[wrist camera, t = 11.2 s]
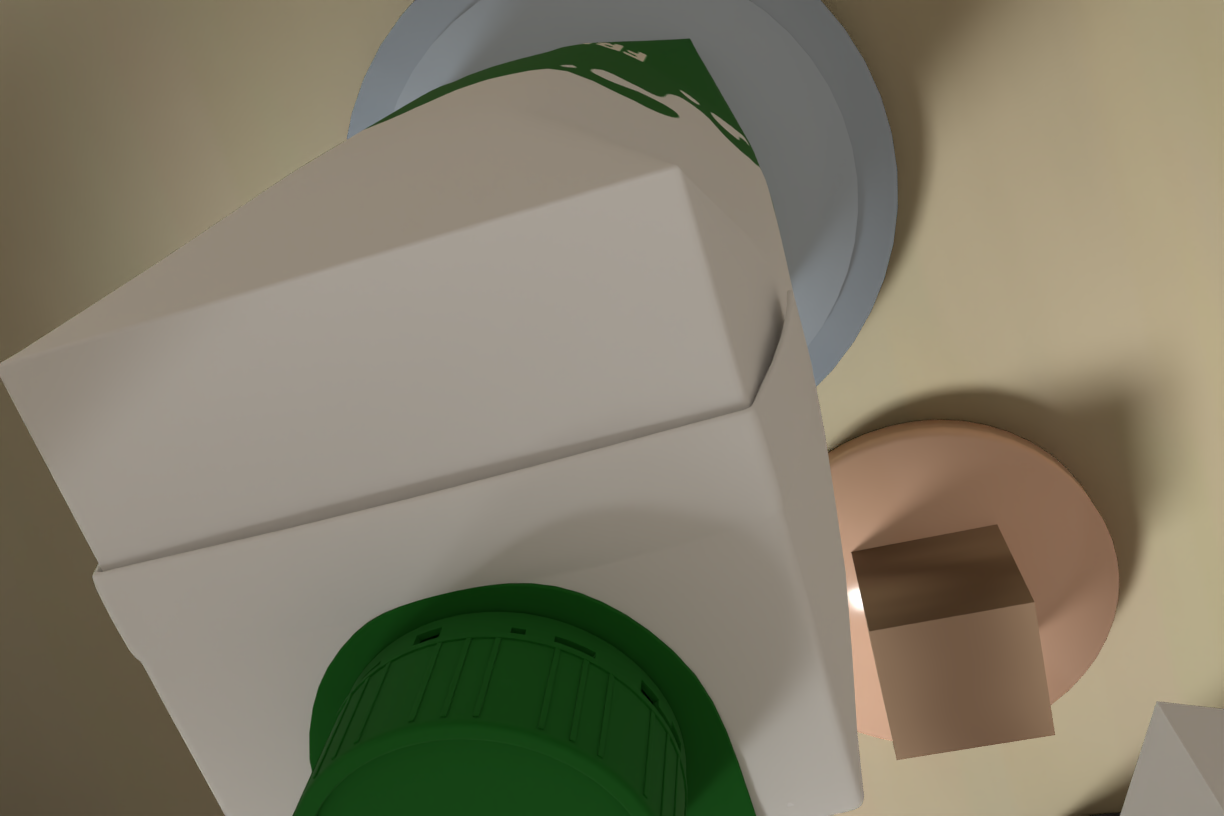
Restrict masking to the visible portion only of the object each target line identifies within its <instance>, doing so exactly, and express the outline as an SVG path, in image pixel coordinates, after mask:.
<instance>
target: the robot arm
mask: <svg viewBox="0 0 1224 816" xmlns="http://www.w3.org/2000/svg"><path fill="white" fill-rule="evenodd" d="M1120 816H1224V709H1220V708H1211V707H1202V706H1193V705H1184V704H1175V703H1167V702H1158V701H1157V702H1156V705H1155V708H1154V711H1153V714H1152V718H1151V721H1150V724H1149V727H1148V730H1147V733H1146V736H1145V739H1144V742H1143V746H1142V749H1141V752H1140V755H1139V758H1138V761H1137V764H1136V767H1135V770H1134V774H1133V777H1132V780H1131V783H1130V786H1129V789H1128V792H1127V795H1126V798H1125V802H1124V805H1123V808H1122V811H1121V814H1120Z"/></svg>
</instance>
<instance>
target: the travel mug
mask: <svg viewBox="0 0 1224 816" xmlns="http://www.w3.org/2000/svg"><path fill="white" fill-rule="evenodd" d="M1120 814H1121V813H1109V814H1099V815H1092V816H1120Z"/></svg>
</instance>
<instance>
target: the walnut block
mask: <svg viewBox="0 0 1224 816" xmlns="http://www.w3.org/2000/svg"><path fill="white" fill-rule="evenodd" d="M851 553H852V558H853V563H854V567H855V572H856V577H857V581H858V586H859V590H860V595H861V600H862V604H863V609H864V614H865V618H866V623H867V628H868V632H869V637H870V642H871V646H872V651H873V655H874V660H875V665H876V669H877V674H878V678H879V683H880V687H881V692H882V696H883V700H884V705H885V709H886V714H887V718H888V723H889V727H890V732H891V736H892V740H893V745H894V749H895V754H896V758H897V760H900V759H906V758H912V757H919V756H925V755H931V754H938V753H944V752H950V751H956V750H963V749H969V748H975V747H982V746H988V745H994V744H1001V743H1007V742H1013V741H1019V740H1026V739H1032V738H1038V737H1045V736H1051V735H1055V731H1054V725H1053V718H1052V712H1051V705H1050V699H1049V692H1048V686H1047V679H1046V673H1045V666H1044V660H1043V653H1042V647H1041V640H1040V634H1039V627H1038V621H1037V615H1036V608H1035V602H1034V600H1033V598H1032V596H1031V594H1030V592H1029V589H1028V587H1027V585H1026V583H1025V581H1024V579H1023V577H1022V575H1021V573H1020V571H1019V569H1018V567H1017V565H1016V562H1015V560H1014V558H1013V556H1012V554H1011V552H1010V550H1009V548H1008V546H1007V544H1006V542H1005V540H1004V537H1003V535H1002V533H1001V531H1000V529H999V527H998V525H997V524H996V525H991V526H985V527H980V528H975V529H969V530H964V531H959V532H954V533H948V534H943V535H938V536H932V537H927V538H922V539H917V540H911V541H906V542H901V543H895V544H890V545H885V546H880V547H874V548H869V549H864V550H858V551H853V552H851Z"/></svg>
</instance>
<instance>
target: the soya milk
mask: <svg viewBox="0 0 1224 816" xmlns="http://www.w3.org/2000/svg"><path fill="white" fill-rule="evenodd" d="M0 378H1V380H2V382H3V383H4V385H5V387H6V389H7V391H8V393H9V395H10V397H11V399H12V401H13V403H14V405H15V407H16V409H17V410H18V412H19V414H20V416H21V418H22V420H23V422H24V424H25V426H26V427H27V429H28V431H29V433H30V435H31V437H32V439H33V441H34V443H35V444H36V446H37V448H38V450H39V452H40V454H41V456H42V458H43V460H44V461H45V463H46V465H47V467H48V469H49V471H50V473H51V475H52V477H53V478H54V480H55V482H56V484H57V486H58V488H59V490H60V492H61V494H62V495H63V497H64V499H65V501H66V503H67V505H68V507H69V509H70V511H71V512H72V514H73V516H74V518H75V520H76V522H77V524H78V526H79V527H80V529H81V531H82V533H83V535H84V537H85V539H86V541H87V543H88V544H89V546H90V548H91V550H92V552H93V554H94V556H95V558H96V559H97V561H98V565H97V567H96V569H95V571H94V573H93V575H92V578H93V581H94V584H95V587H96V590H97V592H98V594H99V596H100V598H101V600H102V602H103V604H104V606H105V608H106V610H107V611H108V613H109V615H110V617H111V619H112V621H113V623H114V625H115V626H116V628H117V630H118V632H119V633H120V635H121V637H122V639H123V640H124V642H125V644H126V646H127V648H128V649H129V650H130V652H131V653H132V654H133V655H134V657H135V658H136V659H138V660H140V661H141V663H142V664H143V666H144V668H145V670H146V672H147V674H148V675H149V677H150V679H151V681H152V683H153V685H154V687H155V688H156V690H157V692H158V694H159V696H160V698H161V700H162V701H163V703H164V705H165V707H166V709H167V711H168V712H169V714H170V716H171V718H172V720H173V721H174V723H175V725H176V727H177V729H178V731H179V732H180V734H181V736H182V738H183V740H184V742H185V743H186V745H187V747H188V749H189V751H190V753H191V754H192V756H193V758H194V760H195V762H196V763H197V765H198V767H199V769H200V771H201V773H202V774H203V776H204V778H205V780H206V782H207V784H208V785H209V787H210V789H211V791H212V793H213V795H214V796H215V798H216V800H217V802H218V804H219V805H220V807H221V809H222V811H223V813H224V815H225V816H829V815H834V814H839V813H843V812H847V811H851V810H855V809H857V808H859V807H860V806H861V805H862V803H863V799H864V792H863V783H862V773H861V764H860V754H859V745H858V736H857V720H856V705H855V689H854V674H853V658H852V645H851V632H850V620H849V607H848V595H847V583H846V571H845V564H844V557H843V550H842V544H841V537H840V530H839V523H838V516H837V510H836V503H835V496H834V489H833V483H832V476H831V470H830V463H829V457H828V450H827V444H826V437H825V431H824V426H823V421H822V416H821V410H820V405H819V400H818V395H817V389H816V384H815V379H814V375H813V369H812V364H811V360H810V356H809V352H808V348H807V344H806V340H805V336H804V332H803V328H802V324H801V320H800V317H799V313H798V309H797V305H796V301H795V298H794V293H793V289H792V284H791V280H790V275H789V271H788V266H787V262H786V258H785V253H784V249H783V244H782V240H781V236H780V231H779V227H778V223H777V218H776V214H775V210H774V206H773V202H772V199H771V196H770V192H769V189H768V186H767V183H766V180H765V177H764V175H763V173H762V170H761V168H760V166H759V163H758V161H757V158H756V156H755V153H754V151H753V149H752V147H751V145H750V143H749V141H748V139H747V138H746V136H745V134H744V132H743V131H742V129H741V127H740V125H739V123H738V122H737V120H736V118H735V116H734V115H733V113H732V111H731V109H730V108H729V106H728V104H727V102H726V101H725V99H724V97H723V96H722V94H721V92H720V90H719V89H718V87H717V85H716V83H715V82H714V80H713V78H712V76H711V75H710V73H709V71H708V70H707V68H706V66H705V64H704V63H703V61H702V59H701V58H700V56H699V54H698V52H697V51H696V49H695V47H694V45H693V43H692V41H691V39H689V38H687V39H672V40H648V41H622V42H598V43H583V44H578V45H572V46H566V47H561V48H558V49H555V50H552V51H549V52H545V53H541V54H537V55H533V56H529V57H525V58H521V59H517V60H514V61H510V62H507V63H503V64H500V65H496V66H493V67H490V68H487V69H484V70H482V71H479V72H476V73H473V74H470V75H468V76H466V77H463V78H461V79H459V80H456V81H454V82H452V83H449V84H446V85H443V86H440V87H438V88H436V89H434V90H432V91H429V92H428V93H426V94H424V95H422V96H421V97H419V98H417V99H415V100H414V101H412V102H410V103H408V104H407V105H405V106H403V107H402V108H400V109H398V110H396V111H395V112H393V113H391V114H390V115H388V116H386V117H385V118H383V119H381V120H379V121H378V122H376V123H374V124H373V125H371V126H369V127H368V128H366V129H364V130H362V131H361V132H359V133H357V134H356V135H354V136H352V137H351V138H349V139H347V140H346V141H344V142H342V143H340V144H339V145H337V146H335V147H334V148H332V149H330V150H329V151H327V152H325V153H324V154H322V155H320V156H318V157H317V158H315V159H313V160H312V161H310V162H308V163H307V164H305V165H304V166H302V167H300V168H299V169H297V170H295V171H294V172H292V173H290V174H289V175H287V176H286V177H284V178H283V179H281V180H280V181H278V182H277V183H275V184H274V185H272V186H271V187H269V188H268V189H266V190H265V191H263V192H262V193H260V194H259V195H257V196H256V197H255V198H253V199H252V200H250V201H249V202H247V203H246V204H244V205H243V206H241V207H240V208H238V209H237V210H235V211H234V212H232V213H231V214H229V215H228V216H226V217H225V218H223V219H222V220H220V221H219V222H217V223H216V224H214V225H213V226H211V227H210V228H208V229H207V230H205V231H204V232H202V233H201V234H199V235H198V236H196V237H195V238H194V239H192V240H191V241H189V242H188V243H186V244H185V245H183V246H182V247H180V248H179V249H177V250H176V251H174V252H173V253H171V254H170V255H168V256H167V257H165V258H164V259H162V260H161V261H159V262H158V263H156V264H155V265H153V266H152V267H150V268H148V269H147V270H145V271H144V272H142V273H141V274H139V275H138V276H136V277H134V278H133V279H131V280H130V281H128V282H127V283H125V284H124V285H122V286H121V287H119V288H117V289H116V290H114V291H113V292H111V293H110V294H108V295H107V296H105V297H103V298H102V299H100V300H99V301H97V302H96V303H94V304H93V305H91V306H89V307H88V308H86V309H85V310H83V311H82V312H80V313H79V314H77V315H76V316H74V317H72V318H71V319H69V320H68V321H66V322H65V323H63V324H62V325H60V326H58V327H57V328H55V329H54V330H52V331H51V332H49V333H48V334H46V335H45V336H43V337H41V338H40V339H38V340H37V341H35V342H34V343H32V344H31V345H29V346H27V347H26V348H24V349H23V350H21V351H20V352H18V353H16V354H15V355H13V356H11V357H10V358H8V359H6V360H4V361H3V362H1V363H0Z"/></svg>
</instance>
